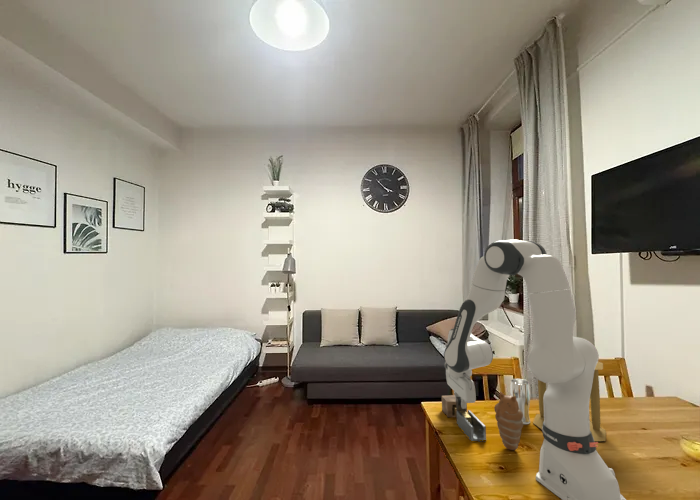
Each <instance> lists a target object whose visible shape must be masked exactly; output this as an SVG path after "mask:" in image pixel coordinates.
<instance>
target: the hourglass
mask: <svg viewBox="0 0 700 500" xmlns="http://www.w3.org/2000/svg"><path fill="white" fill-rule="evenodd" d="M603 369H604V363H603V362H602V361H599V360H598V362H597V364H596V367H595V370H594V376H593V383H592V388H591V394H590V413H591V414H590V415H591V420H590V431H591V433H592V436H593V438H594V442H606V439H607V436H606V435H607V434H606V429H605V428H603V427H602V426H601V396H600V394H601V393H600V380H599V379H600V378H599V371H600V370H603ZM546 389H547V383H544V382H542V381H540V380H538V379H537V390H538V391H537V392H538V411H539V413H536V414H535V416H534V419H533V421H532V423H533V424H534V425H535V426H537V428H539V429H540V430H541V431H542V426H543V422H544V403H543V397H544V393H545V391H546Z"/></svg>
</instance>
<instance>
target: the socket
mask: <svg viewBox="0 0 700 500" xmlns="http://www.w3.org/2000/svg"><path fill="white" fill-rule="evenodd" d="M452 405H456V401H455V395H454V394H450V395H448V394H447V395H441V411H442V413H443V414H444V415H445V414H446V415H447V416H446V415H445V416H446V417H447V418H457V417H456V416H455V415H454V414H453V413H452ZM466 412H467V413H468V403H467V404H466Z"/></svg>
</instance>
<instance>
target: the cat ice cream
mask: <svg viewBox="0 0 700 500" xmlns="http://www.w3.org/2000/svg"><path fill="white" fill-rule="evenodd" d="M499 396H500V397H499V398H500V399H499V401H498V403H496V404H495V405H494V409H493V410H494V413H495V414H494V415H495V420H496V421H497V423H496V426H497V428H498V432H499V437H500V438H501V442H502V445H503V446H504V447H505V448H506V449H507V450H510V451H516V450H518V448H519V443H520V442H521V441H520V440H521V435H522V429H523V427H524V424H523V422H522V418H523V413H522V411H521V410H520V409H519V405H518V402H517V400H516V396H511V394H510V395H509V394H506V395H505V394H504V392H501V391H500V392H499Z"/></svg>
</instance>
